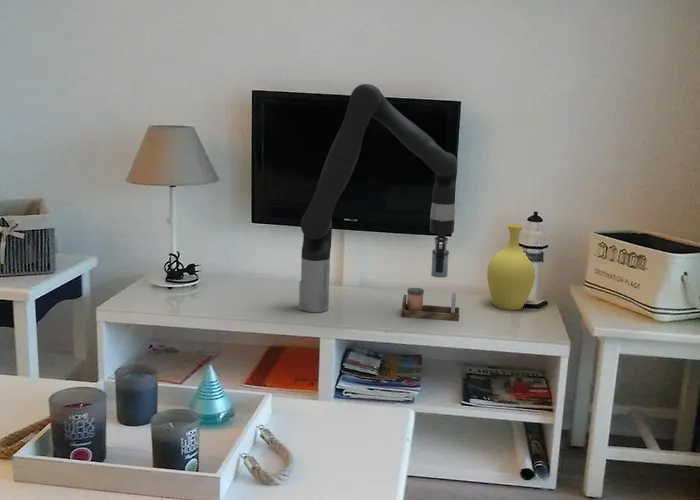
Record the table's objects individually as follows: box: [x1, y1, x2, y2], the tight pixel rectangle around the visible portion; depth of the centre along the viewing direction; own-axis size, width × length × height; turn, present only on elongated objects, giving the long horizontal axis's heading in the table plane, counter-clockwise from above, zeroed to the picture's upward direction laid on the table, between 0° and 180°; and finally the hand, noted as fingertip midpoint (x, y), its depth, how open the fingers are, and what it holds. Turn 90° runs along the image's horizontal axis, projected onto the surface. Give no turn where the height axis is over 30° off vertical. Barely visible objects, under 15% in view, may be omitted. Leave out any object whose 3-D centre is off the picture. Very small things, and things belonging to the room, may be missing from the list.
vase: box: [486, 223, 536, 311], centre depth 265 cm, size 16×16×28 cm
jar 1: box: [406, 287, 425, 311], centre depth 251 cm, size 5×5×8 cm
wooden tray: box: [401, 294, 460, 322], centre depth 251 cm, size 18×8×6 cm, turn 82°
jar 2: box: [430, 248, 450, 279], centre depth 247 cm, size 5×5×8 cm
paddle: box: [450, 292, 457, 314], centre depth 250 cm, size 1×6×7 cm, turn 172°
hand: (439, 269), depth 248 cm, fingers closed on jar 2, 5 cm apart
